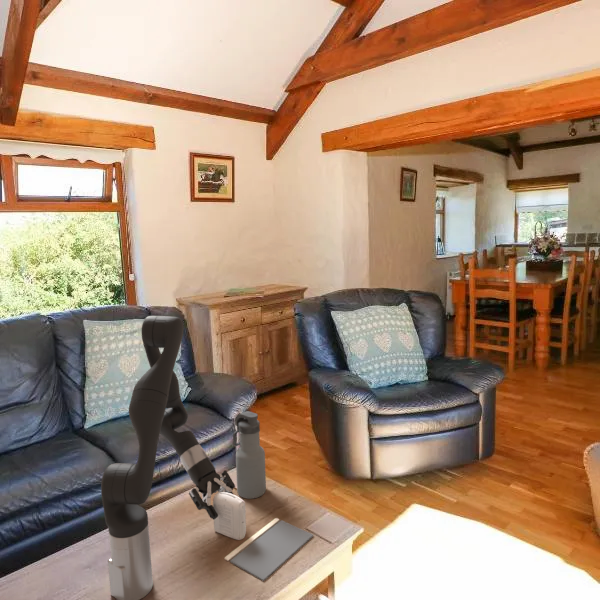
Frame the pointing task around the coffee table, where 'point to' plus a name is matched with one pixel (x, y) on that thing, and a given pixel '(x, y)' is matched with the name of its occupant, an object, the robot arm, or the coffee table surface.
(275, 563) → the mat
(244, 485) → the water bottle
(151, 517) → the coffee table surface
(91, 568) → the coffee table surface
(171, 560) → the coffee table surface
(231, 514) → the photo printer
